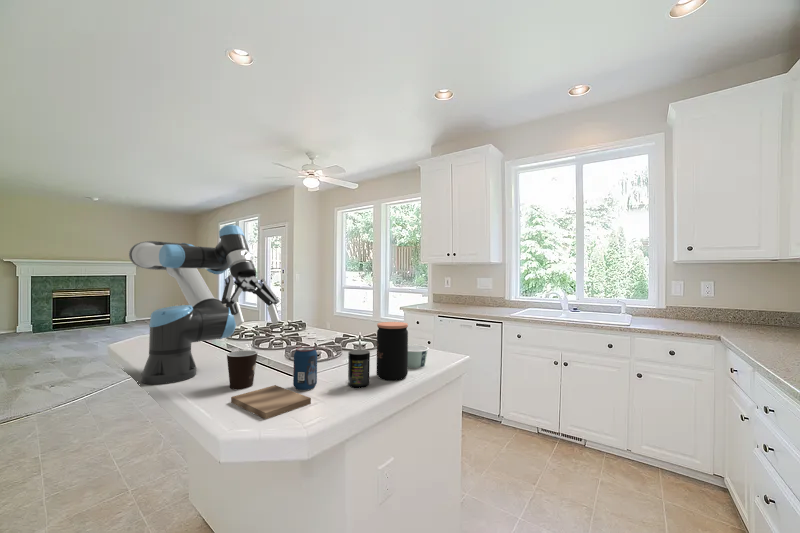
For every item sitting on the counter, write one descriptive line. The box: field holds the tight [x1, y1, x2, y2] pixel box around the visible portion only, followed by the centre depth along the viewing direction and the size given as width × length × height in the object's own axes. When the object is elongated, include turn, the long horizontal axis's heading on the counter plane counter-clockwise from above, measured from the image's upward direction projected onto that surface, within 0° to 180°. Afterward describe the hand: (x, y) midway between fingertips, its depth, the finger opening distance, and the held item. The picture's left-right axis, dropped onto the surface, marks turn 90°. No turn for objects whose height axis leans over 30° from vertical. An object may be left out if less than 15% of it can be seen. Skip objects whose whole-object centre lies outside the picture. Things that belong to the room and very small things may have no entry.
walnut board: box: [230, 384, 312, 420], centre depth 91 cm, size 17×13×2 cm
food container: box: [408, 344, 430, 369], centre depth 133 cm, size 12×12×6 cm
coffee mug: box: [226, 349, 258, 390], centre depth 106 cm, size 12×9×10 cm
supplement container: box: [347, 349, 371, 390], centre depth 106 cm, size 7×7×10 cm
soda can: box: [292, 345, 318, 392], centre depth 104 cm, size 7×7×12 cm
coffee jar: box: [376, 321, 409, 382], centre depth 116 cm, size 11×11×18 cm
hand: (259, 323), depth 106 cm, fingers open, 13 cm apart
